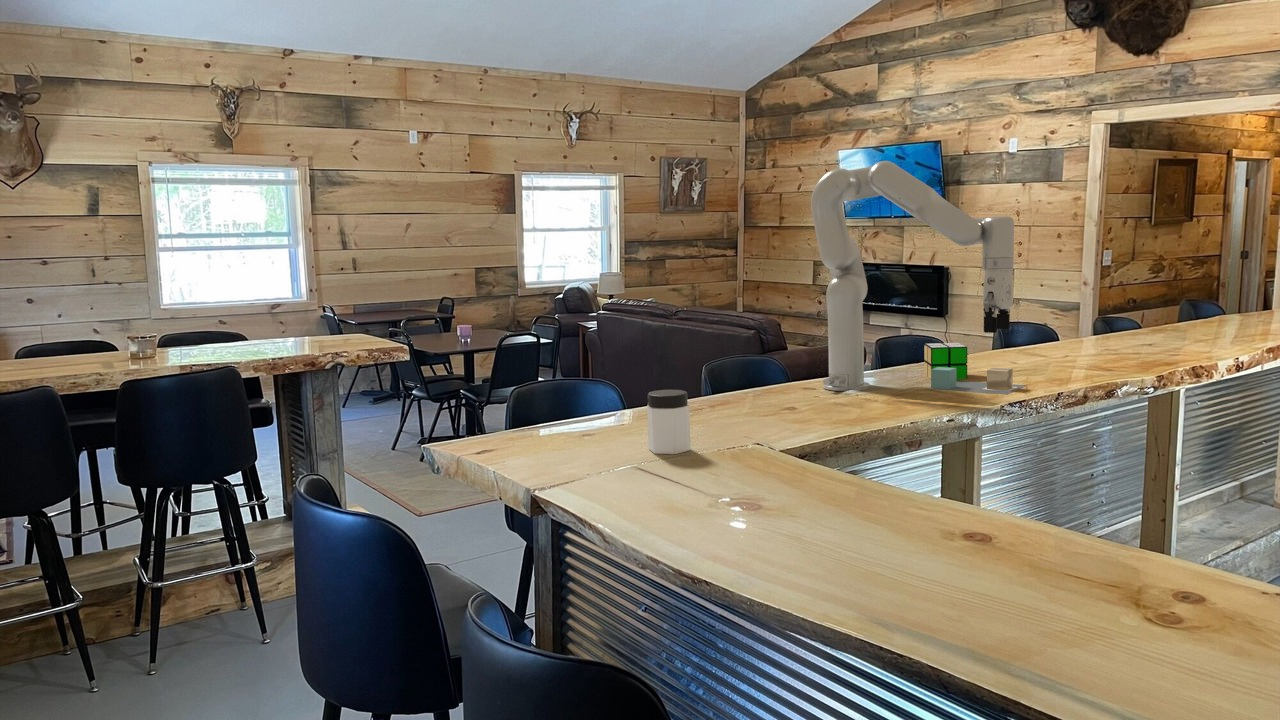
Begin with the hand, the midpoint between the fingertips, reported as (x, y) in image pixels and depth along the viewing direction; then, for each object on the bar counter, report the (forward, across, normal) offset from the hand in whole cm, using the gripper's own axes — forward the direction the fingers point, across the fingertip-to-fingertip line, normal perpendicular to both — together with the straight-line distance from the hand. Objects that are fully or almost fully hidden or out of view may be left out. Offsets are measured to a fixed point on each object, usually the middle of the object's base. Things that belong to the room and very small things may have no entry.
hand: (996, 330), depth 241 cm
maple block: (+15, 0, -1) cm, 15 cm away
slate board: (+16, 0, +5) cm, 17 cm away
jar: (+17, -97, +34) cm, 104 cm away
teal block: (+15, -4, +12) cm, 20 cm away
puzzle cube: (+16, +14, +19) cm, 29 cm away
